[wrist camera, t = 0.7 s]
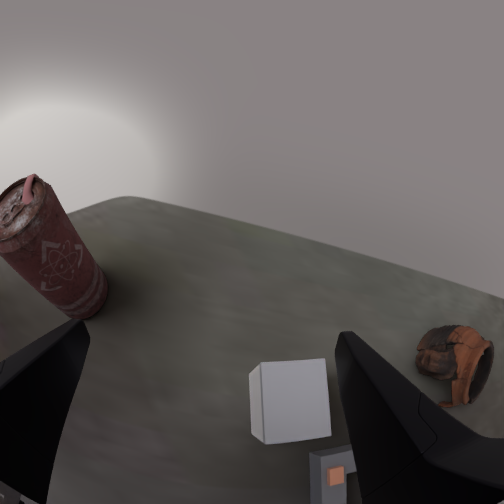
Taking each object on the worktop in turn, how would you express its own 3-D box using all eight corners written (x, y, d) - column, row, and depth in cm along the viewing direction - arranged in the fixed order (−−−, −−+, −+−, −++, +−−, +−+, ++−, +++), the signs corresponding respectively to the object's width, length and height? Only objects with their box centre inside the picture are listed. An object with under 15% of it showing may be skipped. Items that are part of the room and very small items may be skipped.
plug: (300, 429, 21) (331, 435, 15) (251, 433, 20) (265, 444, 14) (296, 371, 23) (324, 358, 18) (248, 374, 23) (261, 362, 17)
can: (111, 262, 27) (60, 161, 15) (108, 320, 23) (33, 238, 12) (64, 267, 25) (1, 177, 14) (58, 321, 22) (-27, 248, 10)
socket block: (401, 515, 15) (421, 522, 12) (310, 546, 13) (323, 560, 10) (402, 428, 21) (424, 427, 18) (308, 452, 19) (323, 458, 16)
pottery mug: (452, 323, 28) (503, 330, 20) (434, 391, 27) (481, 407, 19) (401, 316, 25) (467, 327, 17) (377, 402, 24) (434, 431, 16)
